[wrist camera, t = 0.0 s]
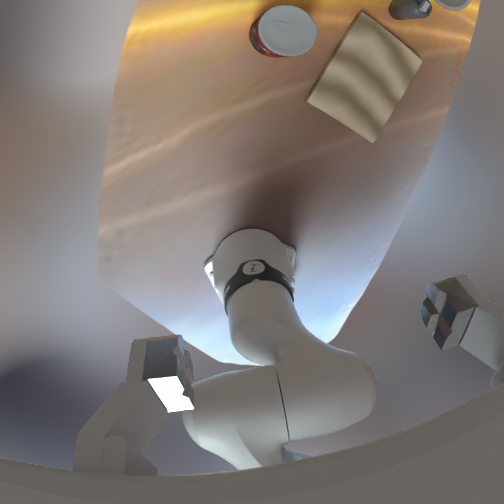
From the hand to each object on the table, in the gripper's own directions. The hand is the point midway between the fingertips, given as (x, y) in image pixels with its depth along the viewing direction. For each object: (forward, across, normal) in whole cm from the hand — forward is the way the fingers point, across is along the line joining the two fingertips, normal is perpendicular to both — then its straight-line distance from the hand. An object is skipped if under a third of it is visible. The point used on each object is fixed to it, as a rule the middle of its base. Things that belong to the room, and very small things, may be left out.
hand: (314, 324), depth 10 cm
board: (+48, +25, +3) cm, 54 cm away
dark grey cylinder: (+48, +33, +17) cm, 61 cm away
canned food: (+48, +9, +11) cm, 50 cm away
